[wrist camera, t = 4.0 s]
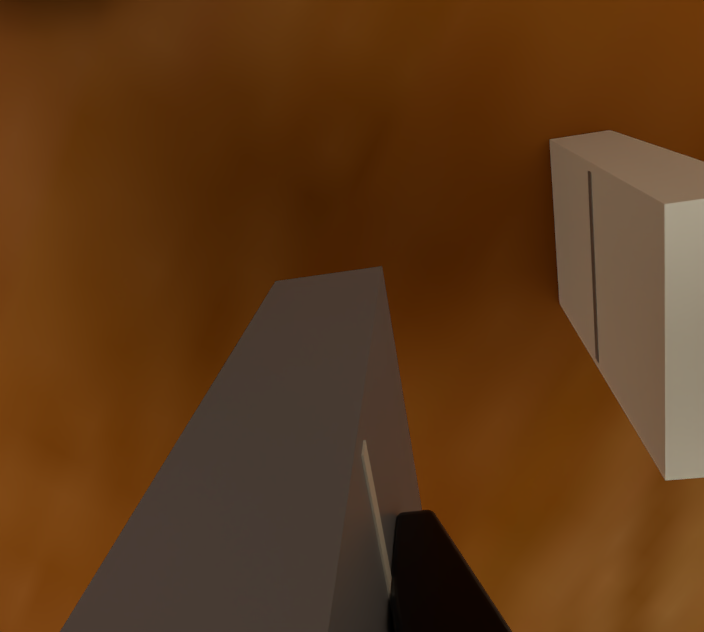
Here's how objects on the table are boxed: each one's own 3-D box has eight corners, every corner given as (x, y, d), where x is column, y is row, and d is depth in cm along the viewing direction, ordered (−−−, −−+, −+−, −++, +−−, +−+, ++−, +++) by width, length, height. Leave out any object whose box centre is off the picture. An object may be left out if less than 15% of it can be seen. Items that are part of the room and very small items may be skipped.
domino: (611, 129, 18) (783, 188, 9) (616, 296, 19) (766, 472, 11) (548, 139, 18) (662, 204, 10) (558, 303, 20) (664, 480, 11)
